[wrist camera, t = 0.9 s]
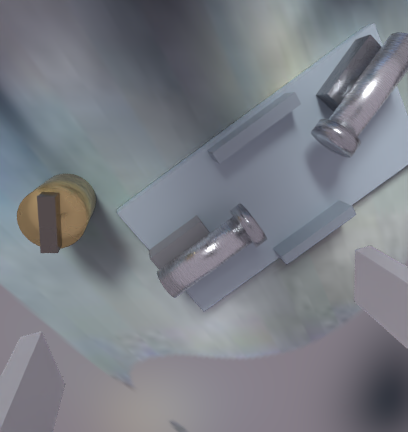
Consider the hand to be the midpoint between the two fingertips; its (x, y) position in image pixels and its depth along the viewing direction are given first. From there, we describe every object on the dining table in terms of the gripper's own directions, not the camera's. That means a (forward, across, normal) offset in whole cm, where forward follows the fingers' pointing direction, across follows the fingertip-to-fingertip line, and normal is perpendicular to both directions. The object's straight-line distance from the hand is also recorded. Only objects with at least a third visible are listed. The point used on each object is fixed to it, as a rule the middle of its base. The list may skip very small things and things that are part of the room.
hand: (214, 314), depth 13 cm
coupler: (+20, -10, +1) cm, 22 cm away
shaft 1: (+17, +2, -5) cm, 18 cm away
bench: (+20, +12, -1) cm, 23 cm away
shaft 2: (+19, +19, +6) cm, 27 cm away
